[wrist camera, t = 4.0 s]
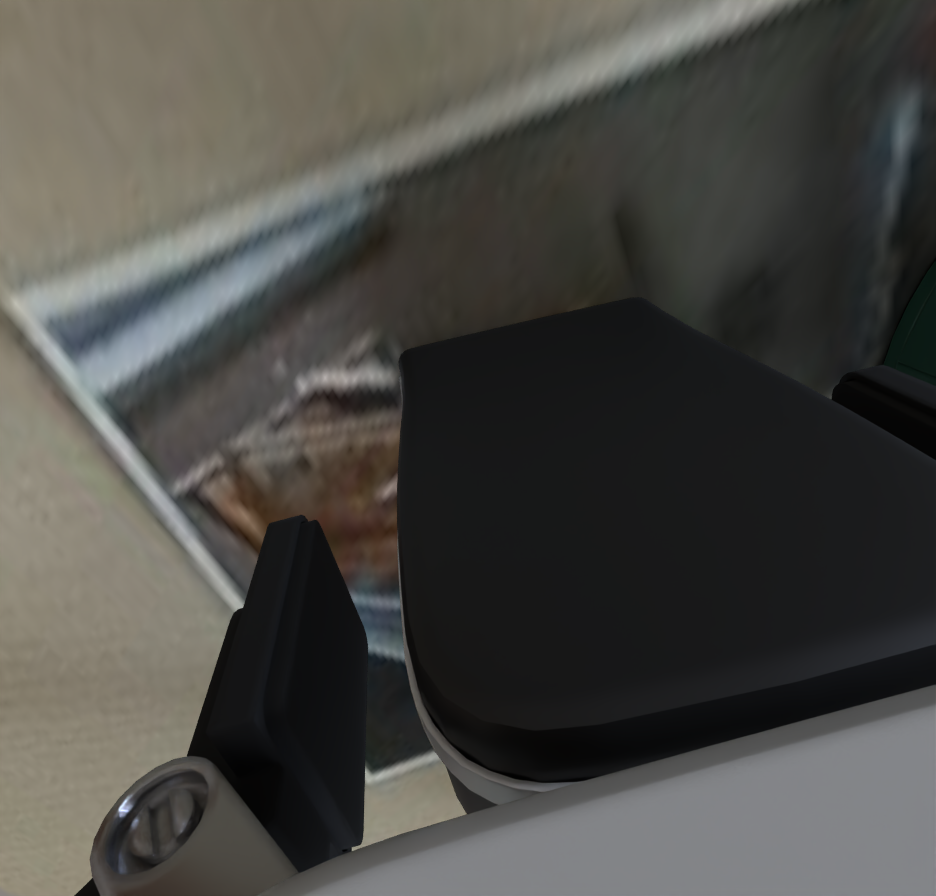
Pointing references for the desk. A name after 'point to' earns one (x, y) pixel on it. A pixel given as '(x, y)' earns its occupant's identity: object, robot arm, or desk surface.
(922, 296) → the tin
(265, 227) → the desk surface
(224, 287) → the desk surface
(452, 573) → the battery charger
